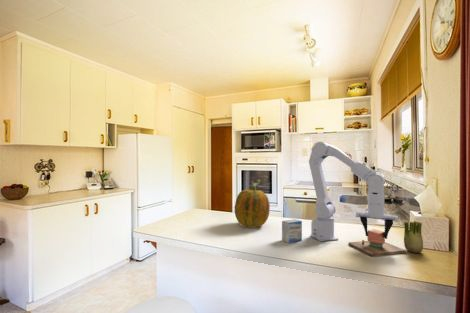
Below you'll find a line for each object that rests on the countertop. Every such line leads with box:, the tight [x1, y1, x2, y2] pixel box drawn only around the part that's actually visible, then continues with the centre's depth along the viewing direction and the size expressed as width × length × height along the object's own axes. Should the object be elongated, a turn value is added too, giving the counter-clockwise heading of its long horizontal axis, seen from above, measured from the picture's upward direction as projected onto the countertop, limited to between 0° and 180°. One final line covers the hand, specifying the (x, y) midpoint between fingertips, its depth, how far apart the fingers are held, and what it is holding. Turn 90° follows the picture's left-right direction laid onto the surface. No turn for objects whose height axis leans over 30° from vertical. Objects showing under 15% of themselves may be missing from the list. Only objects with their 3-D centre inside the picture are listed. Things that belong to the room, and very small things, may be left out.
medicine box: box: [281, 218, 303, 244], centre depth 101 cm, size 8×4×9 cm, turn 117°
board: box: [348, 239, 407, 257], centre depth 92 cm, size 16×12×2 cm
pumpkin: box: [234, 178, 271, 228], centre depth 122 cm, size 19×19×25 cm
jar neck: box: [369, 242, 383, 248], centre depth 92 cm, size 5×5×2 cm
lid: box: [366, 228, 386, 244], centre depth 92 cm, size 6×6×4 cm
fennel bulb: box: [403, 220, 424, 254], centre depth 90 cm, size 6×5×12 cm
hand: (376, 236), depth 92 cm, fingers closed on lid, 6 cm apart
